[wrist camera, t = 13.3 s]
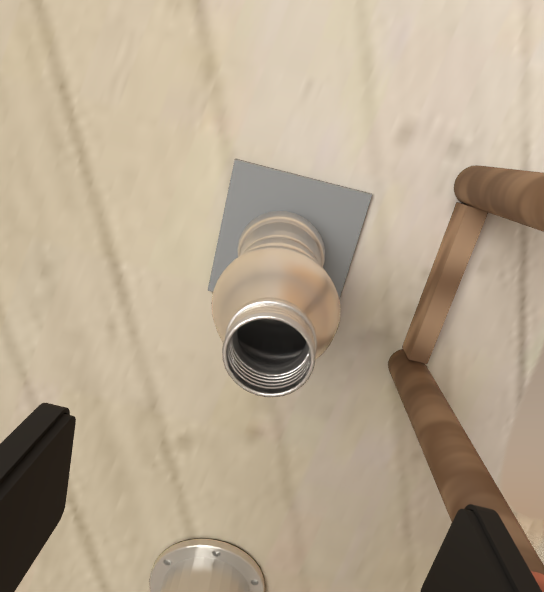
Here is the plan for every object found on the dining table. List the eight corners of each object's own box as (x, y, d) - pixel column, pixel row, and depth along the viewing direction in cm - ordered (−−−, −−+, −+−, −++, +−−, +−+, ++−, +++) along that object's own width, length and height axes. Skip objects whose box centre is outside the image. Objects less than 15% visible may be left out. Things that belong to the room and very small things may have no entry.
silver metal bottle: (264, 191, 35) (226, 245, 16) (338, 232, 36) (386, 330, 17) (228, 260, 37) (156, 382, 18) (299, 298, 38) (302, 452, 19)
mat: (332, 318, 39) (332, 321, 38) (208, 288, 38) (207, 290, 38) (370, 193, 35) (372, 194, 35) (235, 158, 35) (234, 159, 34)
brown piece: (416, 384, 40) (574, 697, 18) (380, 375, 40) (491, 678, 17) (503, 168, 34) (924, 217, 11) (460, 157, 34) (798, 183, 11)
